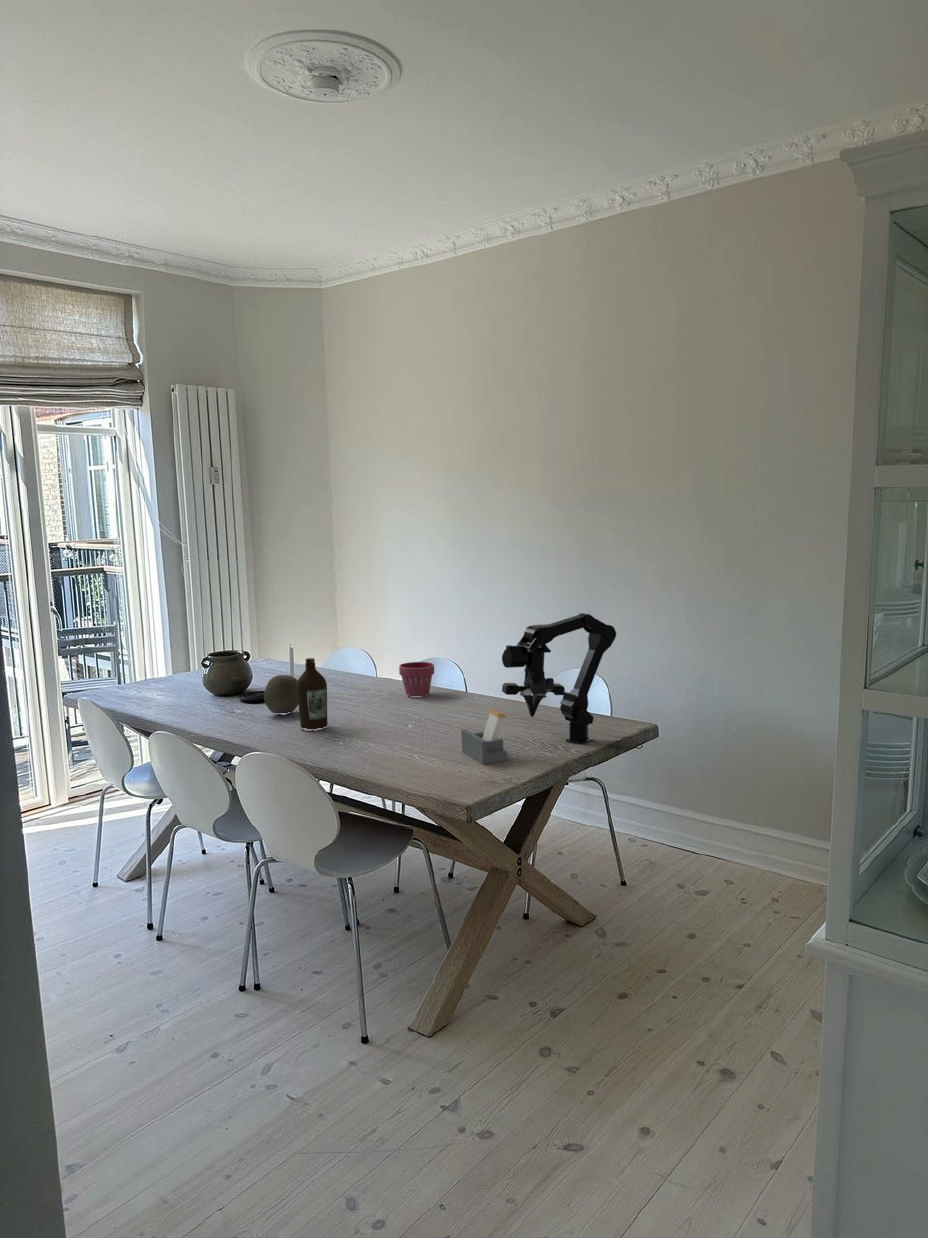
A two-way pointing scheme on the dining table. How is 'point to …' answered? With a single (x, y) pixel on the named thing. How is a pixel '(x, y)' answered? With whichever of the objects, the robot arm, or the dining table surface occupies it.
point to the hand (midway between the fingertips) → (531, 716)
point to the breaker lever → (493, 725)
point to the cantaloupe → (281, 694)
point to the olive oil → (312, 697)
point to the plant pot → (416, 677)
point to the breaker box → (482, 748)
